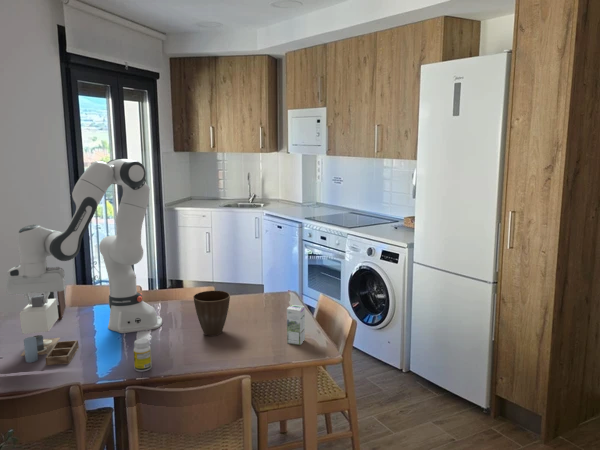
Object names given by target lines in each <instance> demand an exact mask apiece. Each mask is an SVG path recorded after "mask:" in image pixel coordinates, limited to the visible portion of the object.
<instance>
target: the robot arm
mask: <svg viewBox="0 0 600 450" xmlns="http://www.w3.org/2000/svg"><path fill="white" fill-rule="evenodd" d="M146 176H147V172H146V168H145V166H144V165H143V164H142V163H141V161H138V160H136V159H135V160H134V159H130V158H129V159H128V158H121V159H118V158H114V159H112V160H111V159H110V160H109V161H106V162H104V161H103V160H102V161H100V160H96V161H93V162H92V163H91V164H90V165H89V166H88V167H87V168H86V169H85V171H84V172H83V173H82V175H80V177H79V178H78V180H77V182H76V183H75V185H74V187H73V189H72V192H71V195H72V196H71V197H72V200H73V202H74V204H75V212H74V214H73V216H72V218H71V219H70V222H69V223H68V225H67V227H66V229H65V230H64V231H59V230H54V229H53V230H52V229H50V228H46V227H44V226H41V225H39V224H31V225H26V226H24V227H22V228H20V229H19V230H18V232H17V249H18V250H17V251H18V253H19V257H20V258H19V259H20V260H19V265H16V266H14V267H12V268H10V269H8V271H7V272H6V275H7V278H6V280H5V291H6V294H7V295H9V296H14V295H23V296H24V298H25V299H26V300H27V302H28V304H29V305H32V301H31V298H32V297H31V296H30V295H31V294H40V293H41V294H44V298H43V299H42V301H43V304H45V303H48V296H49V294H50V292H54V293H55V292H57V291H63V290H64V291H65V288H66V280H65V270H64V268H62V267H60V266H55V267H52V266H50V267H48V264H47V263H48V261H47V257H49V256H51V257H54V258H55V259H57V260H59V261H61V262H69V261H71V260H73V259H74V258H76V257H77V256H78V254H79V252H80V249H81V245H82V239H83V237H84V235H85V233H86V231H87V229H88V227H89V226H90V223H91V222H92V219H93V218H94V215H95V214H96V211H97V209H98V207H99V204H100V202H101V201H102V199H103V198H104V196H105V194H106V192H107V191H108V189H109V187H111V186H112V185H118V186H121V187H122V196H121V200H120V202H119V206H118V210H117V212H116V215H115V223H116V235H115V234H113V235H108V236H104V238H102V239H101V241H100V242H99V245H98V247H99V252H100V254H101V256H102V258H103V262H104V265H105V269H106V273H107V276H108V285H109V295H108V306H109V309H110V311H109V319H108V320H109V321H108V325H107V329H108V330H110V331H113V332H117V333H119V334H126V333H127V334H128V333H134V332H140V331H141V332H143V331H148V330H157V329H159V328H160V327H161V326H162V324H163V318H162V317H160V316H158V314H157V311H156V309H155V307H154V306H152V305H150V304H148V303H147V302H145V301H144V300H143V294H142V292H138V289H137V288H138V285H137V274H136V273H135V271H134V269H133V266H135V265H137V264H138V263H140V261H142V259H143V257H144V249H143V245H142V230H143V229H142V228H143V225H144V224H143V223H144V219H145V216H146V213H147V208H148V205H149V199H150V193H151V192H150V189H151V188H150V187H149V185H148V183H147V178H146Z"/></svg>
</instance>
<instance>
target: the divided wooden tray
mask: <svg viewBox="0 0 600 450" xmlns="http://www.w3.org/2000/svg"><path fill="white" fill-rule="evenodd" d="M79 348H80V346H79V340H78V339H76V340H59V341H58V342H56V343H55V345H54V346H53V348H52V349H51V351H50V352H49V353H48V354H46V356H45V358H44V359H45V360H44V361H45V365H44V366H53V365H66V364H70V363H71V361H72V360H73V358H74V356H75V355H76V353H77V351H78V349H79Z"/></svg>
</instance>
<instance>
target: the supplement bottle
mask: <svg viewBox="0 0 600 450" xmlns="http://www.w3.org/2000/svg"><path fill="white" fill-rule="evenodd" d="M151 352H152V349H151V346H150V339H148V338H146V337H145V338H138V339H135V340H134V347H133V361H134V362H133V364H134V370H135V371H136V372H147V371H149V370H151V369H152V353H151Z"/></svg>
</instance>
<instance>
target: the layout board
mask: <svg viewBox="0 0 600 450" xmlns="http://www.w3.org/2000/svg"><path fill="white" fill-rule="evenodd" d="M32 337H36V341H37V352H38V356H40V355H41V356H42V355H48V353H49V352H50V351H51V349H52V348H53V346H54V345H55V343H56V342H59V341H60V340H61V337H53V338H52V337H50V338H44V336H43V335H40V334H39V335H38V334H37V335H33V336H32ZM19 356H20V357H25V350H24V351H23V352H22V353H21V354H20V355H19Z"/></svg>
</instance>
